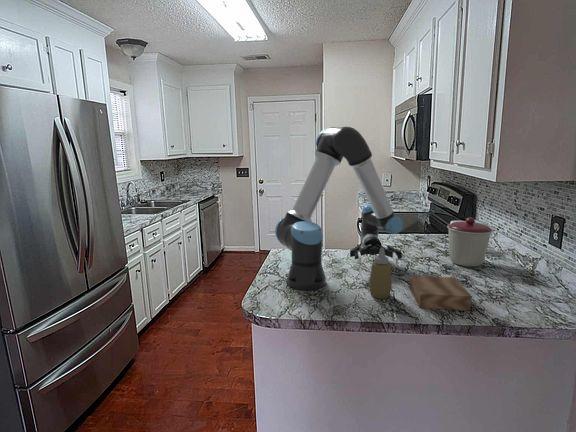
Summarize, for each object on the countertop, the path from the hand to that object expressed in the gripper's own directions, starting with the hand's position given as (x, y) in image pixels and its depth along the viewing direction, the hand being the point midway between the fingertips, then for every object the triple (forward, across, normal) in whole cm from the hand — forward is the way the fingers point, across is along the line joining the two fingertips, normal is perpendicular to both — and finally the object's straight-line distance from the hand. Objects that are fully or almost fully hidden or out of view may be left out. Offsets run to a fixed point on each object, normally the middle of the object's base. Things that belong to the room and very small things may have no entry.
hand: (378, 260), depth 133 cm
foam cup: (-55, -48, -10) cm, 73 cm away
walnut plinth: (+9, -20, -10) cm, 24 cm away
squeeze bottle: (+9, 0, -10) cm, 14 cm away
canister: (-30, -43, -10) cm, 53 cm away
